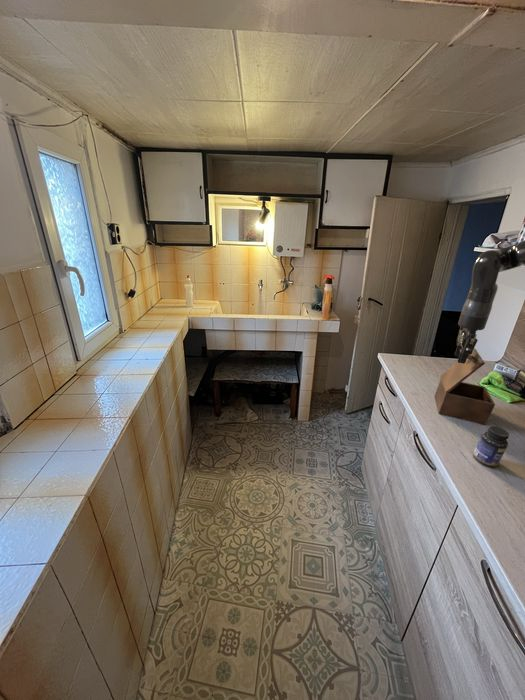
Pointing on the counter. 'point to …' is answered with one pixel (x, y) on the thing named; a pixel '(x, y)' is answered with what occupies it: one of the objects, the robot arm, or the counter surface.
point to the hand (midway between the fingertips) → (459, 359)
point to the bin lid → (461, 371)
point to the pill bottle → (491, 446)
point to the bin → (465, 402)
